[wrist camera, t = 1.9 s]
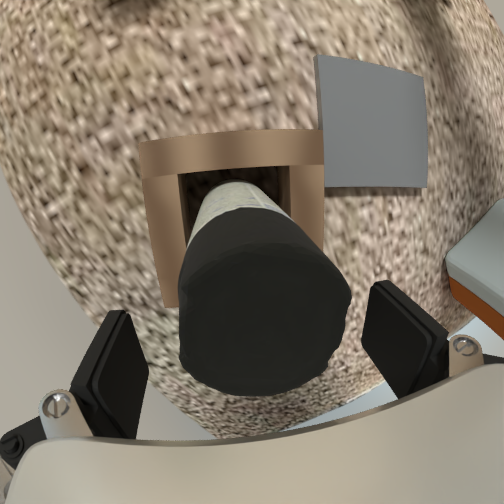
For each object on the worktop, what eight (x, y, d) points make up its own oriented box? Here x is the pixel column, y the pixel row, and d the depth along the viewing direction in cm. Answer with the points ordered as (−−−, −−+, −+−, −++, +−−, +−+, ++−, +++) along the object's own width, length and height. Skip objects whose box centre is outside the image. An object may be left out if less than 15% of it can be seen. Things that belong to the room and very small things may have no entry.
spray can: (197, 238, 28) (168, 397, 9) (205, 172, 26) (168, 230, 7) (261, 245, 29) (326, 400, 10) (272, 181, 27) (386, 257, 8)
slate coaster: (417, 78, 23) (423, 77, 22) (420, 186, 28) (426, 187, 27) (313, 57, 22) (317, 54, 21) (320, 185, 27) (324, 187, 26)
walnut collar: (305, 132, 25) (322, 129, 20) (306, 270, 31) (320, 292, 26) (152, 144, 24) (138, 143, 19) (172, 283, 29) (164, 308, 25)
